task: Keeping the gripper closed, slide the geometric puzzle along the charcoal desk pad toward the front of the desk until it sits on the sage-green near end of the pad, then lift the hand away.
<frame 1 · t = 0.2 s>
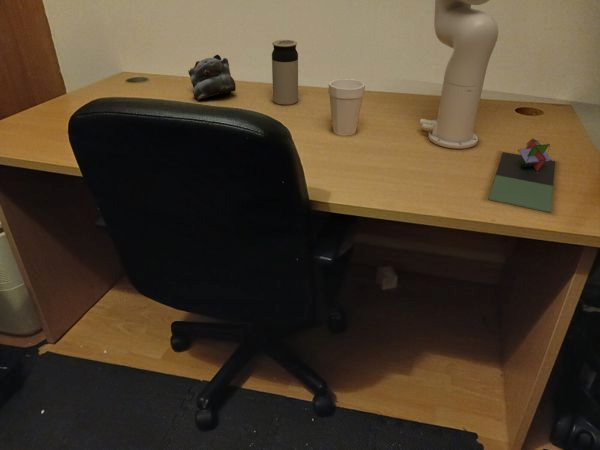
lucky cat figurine: (212, 96, 157), on the table
foam cup: (344, 131, 132), on the table
travel mug: (285, 101, 153), on the table
geometric puzzle: (530, 168, 113), resting on desk pad
desk pad: (523, 179, 108), on the table
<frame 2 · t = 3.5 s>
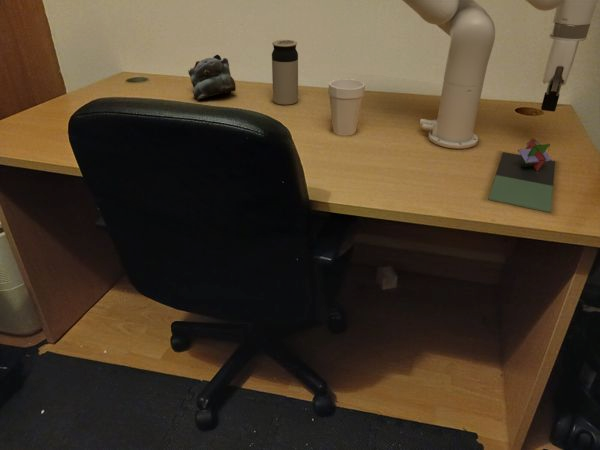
hand: (547, 109, 118), 10 cm above the table, tool pointing down, fingers closed
nothing on the table moved.
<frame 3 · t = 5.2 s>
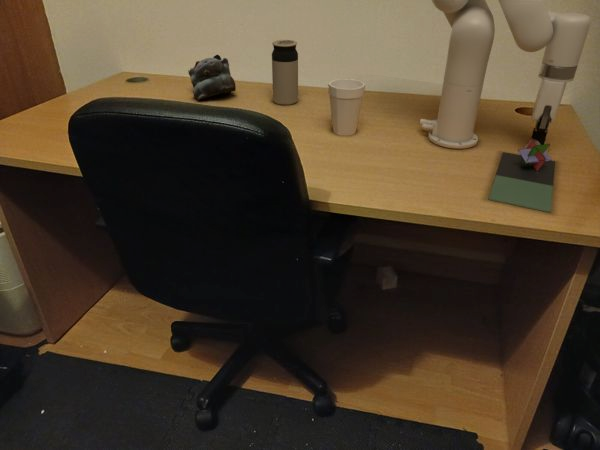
hand: (536, 144, 121), 1 cm above the table, tool pointing down, fingers closed
nothing on the table moved.
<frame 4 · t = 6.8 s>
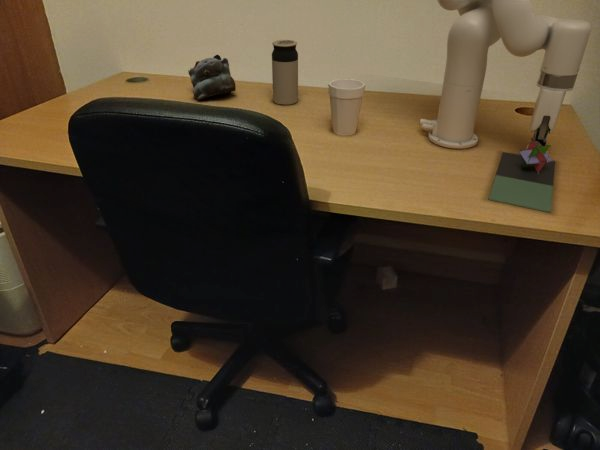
hand: (534, 155, 116), 1 cm above the table, tool pointing down, fingers closed
geometric puzzle: (531, 169, 112), resting on desk pad, touching gripper
everything else where it was.
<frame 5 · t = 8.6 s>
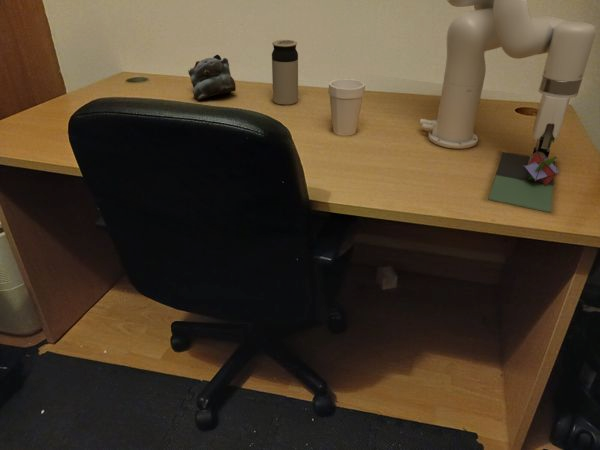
hand: (537, 165, 110), 2 cm above the table, tool pointing down, fingers closed
geometric puzzle: (538, 181, 107), resting on desk pad, touching gripper
everything else where it was.
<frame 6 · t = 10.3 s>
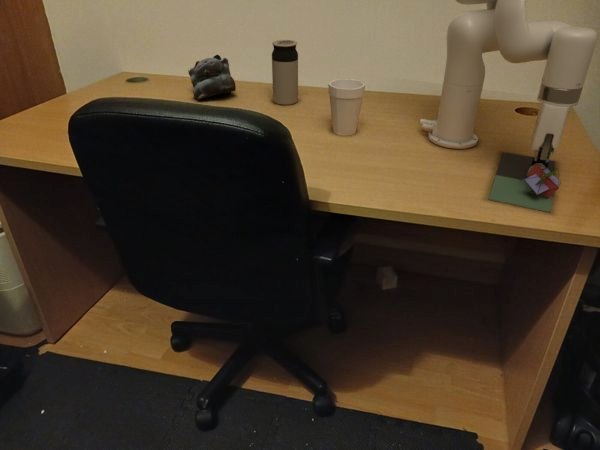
hand: (536, 176, 105), 2 cm above the table, tool pointing down, fingers closed
geometric puzzle: (538, 194, 102), resting on desk pad, touching gripper
everything else where it was.
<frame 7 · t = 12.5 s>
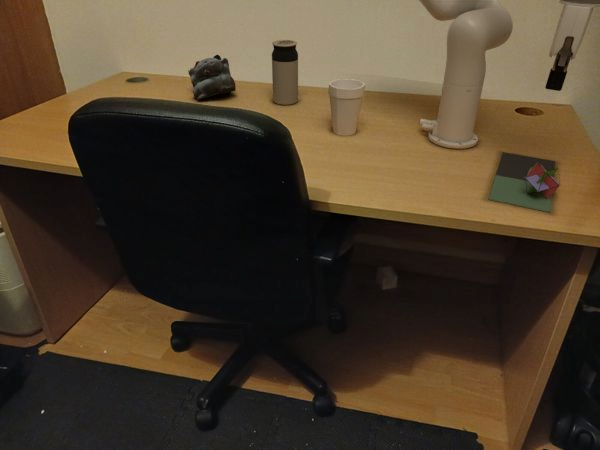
hand: (553, 88, 103), 19 cm above the table, tool pointing down, fingers closed
geometric puzzle: (538, 195, 102), resting on desk pad
everything else where it was.
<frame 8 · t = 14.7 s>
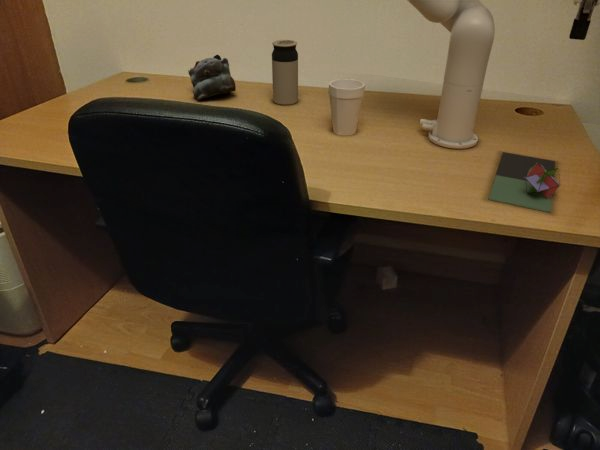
hand: (576, 38, 107), 27 cm above the table, tool pointing down, fingers closed
nothing on the table moved.
at the end: geometric puzzle inside the target area (2.3 cm from its centre), resting on desk pad; geometric puzzle tilted 0° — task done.
